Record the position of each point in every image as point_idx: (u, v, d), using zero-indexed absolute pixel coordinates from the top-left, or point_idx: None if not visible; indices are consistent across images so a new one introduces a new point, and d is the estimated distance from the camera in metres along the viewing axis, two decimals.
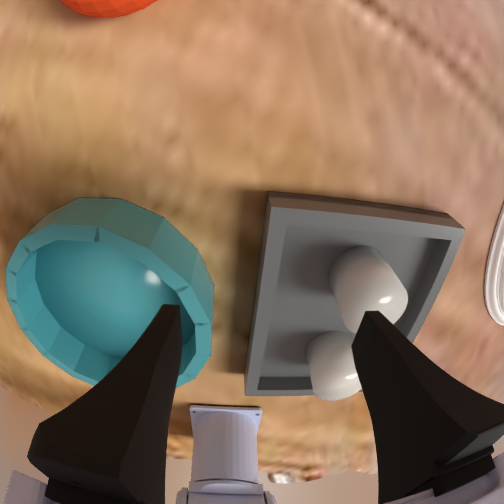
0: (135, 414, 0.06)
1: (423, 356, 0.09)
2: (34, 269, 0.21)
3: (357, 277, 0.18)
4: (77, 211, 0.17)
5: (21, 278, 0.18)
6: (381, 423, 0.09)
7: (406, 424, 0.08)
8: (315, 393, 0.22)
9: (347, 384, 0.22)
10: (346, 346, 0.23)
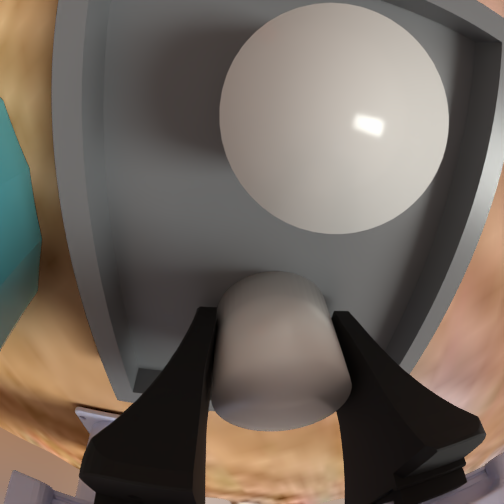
0: (194, 421, 0.06)
1: (390, 360, 0.09)
2: None
3: None
4: None
5: None
6: (347, 428, 0.09)
7: (369, 431, 0.08)
8: (222, 414, 0.09)
9: (299, 398, 0.09)
10: (296, 302, 0.10)
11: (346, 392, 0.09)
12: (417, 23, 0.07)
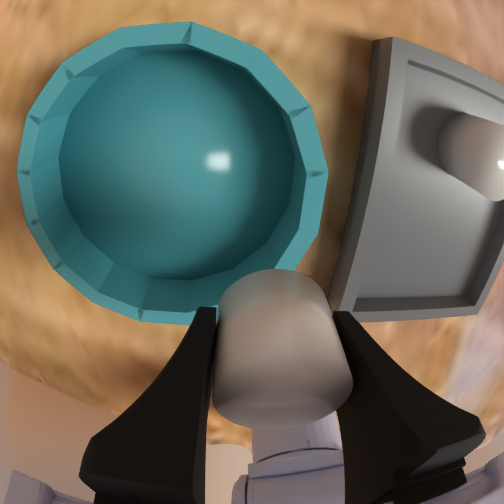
0: (193, 421, 0.06)
1: (390, 360, 0.09)
2: (60, 143, 0.15)
3: (480, 126, 0.12)
4: None
5: (44, 137, 0.13)
6: (347, 428, 0.09)
7: (369, 431, 0.08)
8: (223, 412, 0.09)
9: (301, 396, 0.09)
10: (297, 300, 0.10)
11: (347, 390, 0.09)
12: (503, 108, 0.14)
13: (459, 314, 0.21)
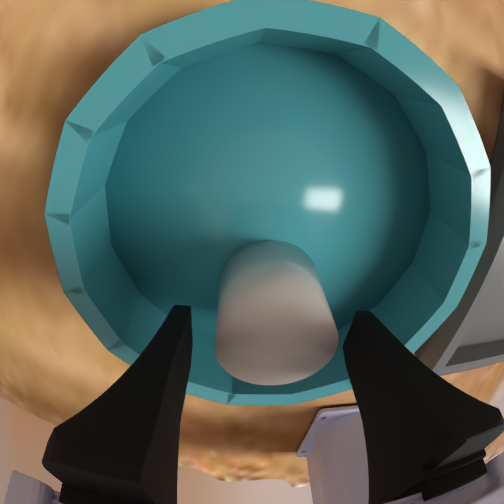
0: (152, 416, 0.06)
1: (413, 357, 0.09)
2: (109, 166, 0.11)
3: None
4: None
5: (92, 160, 0.09)
6: (371, 425, 0.09)
7: (395, 426, 0.08)
8: (224, 364, 0.11)
9: (292, 348, 0.11)
10: (288, 263, 0.12)
11: (334, 343, 0.11)
12: None
13: None
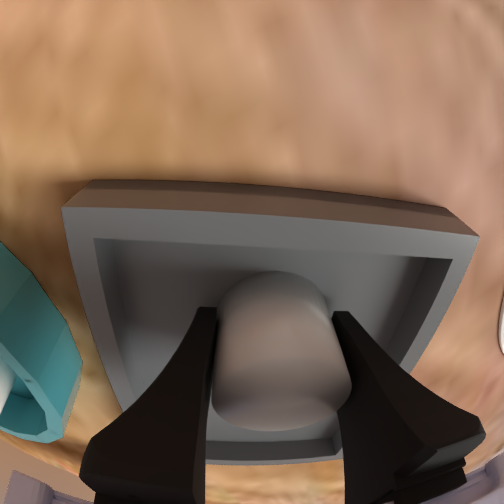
0: (194, 421, 0.06)
1: (390, 360, 0.09)
2: None
3: (237, 342, 0.09)
4: None
5: None
6: (347, 428, 0.09)
7: (369, 431, 0.08)
8: None
9: None
10: None
11: None
12: None
13: (312, 461, 0.18)
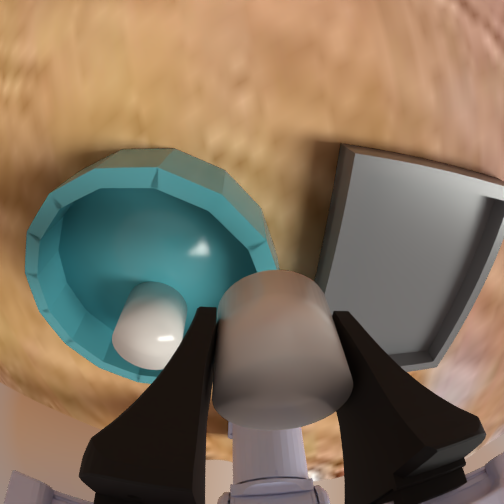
0: (193, 421, 0.06)
1: (390, 360, 0.09)
2: (59, 240, 0.18)
3: (238, 340, 0.09)
4: (125, 158, 0.15)
5: (44, 246, 0.16)
6: (347, 428, 0.09)
7: (369, 431, 0.08)
8: (121, 354, 0.18)
9: (153, 347, 0.18)
10: (153, 298, 0.19)
11: (176, 347, 0.18)
12: (473, 193, 0.17)
13: (417, 369, 0.25)
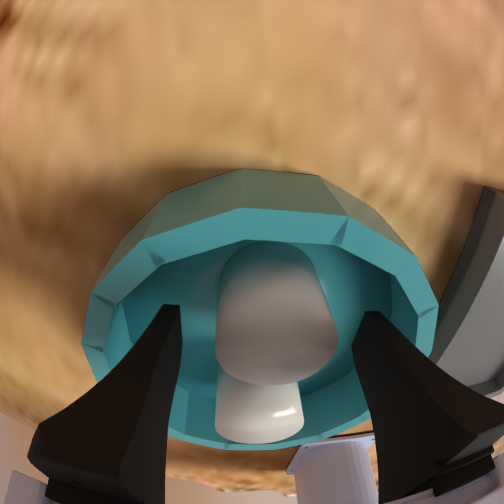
0: (135, 414, 0.06)
1: (423, 356, 0.09)
2: None
3: (237, 295, 0.11)
4: (270, 188, 0.10)
5: (115, 309, 0.12)
6: (381, 423, 0.09)
7: (406, 424, 0.08)
8: (222, 434, 0.14)
9: (270, 425, 0.14)
10: None
11: (301, 422, 0.14)
12: None
13: None
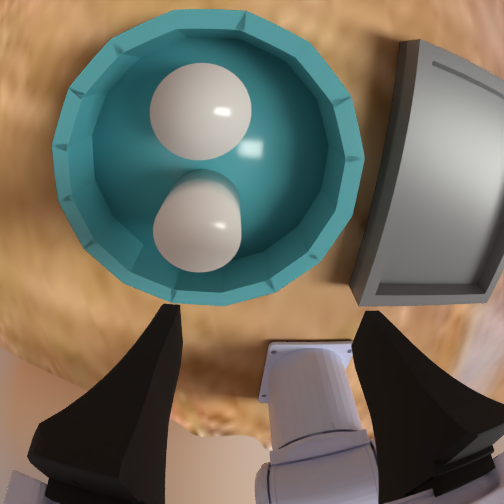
0: (135, 414, 0.06)
1: (423, 356, 0.09)
2: (95, 122, 0.16)
3: None
4: None
5: (83, 112, 0.13)
6: (381, 423, 0.09)
7: (406, 424, 0.08)
8: (161, 250, 0.16)
9: (207, 233, 0.15)
10: (207, 178, 0.16)
11: (237, 229, 0.15)
12: None
13: (470, 301, 0.22)
